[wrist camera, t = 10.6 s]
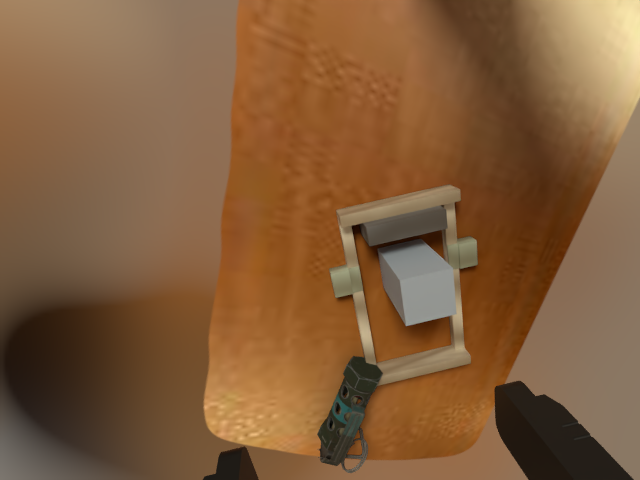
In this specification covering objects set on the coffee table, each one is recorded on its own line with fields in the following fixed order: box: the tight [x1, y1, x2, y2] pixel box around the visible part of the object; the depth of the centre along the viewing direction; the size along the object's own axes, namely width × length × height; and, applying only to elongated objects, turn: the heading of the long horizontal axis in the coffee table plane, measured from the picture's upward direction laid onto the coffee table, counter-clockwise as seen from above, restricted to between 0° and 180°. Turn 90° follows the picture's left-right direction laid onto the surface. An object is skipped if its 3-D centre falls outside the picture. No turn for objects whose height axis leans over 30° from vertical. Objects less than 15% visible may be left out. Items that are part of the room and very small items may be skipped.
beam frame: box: [329, 185, 478, 386], centre depth 40 cm, size 22×16×4 cm
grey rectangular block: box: [378, 239, 457, 326], centre depth 37 cm, size 5×5×8 cm
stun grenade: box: [317, 356, 383, 473], centre depth 44 cm, size 6×6×14 cm
